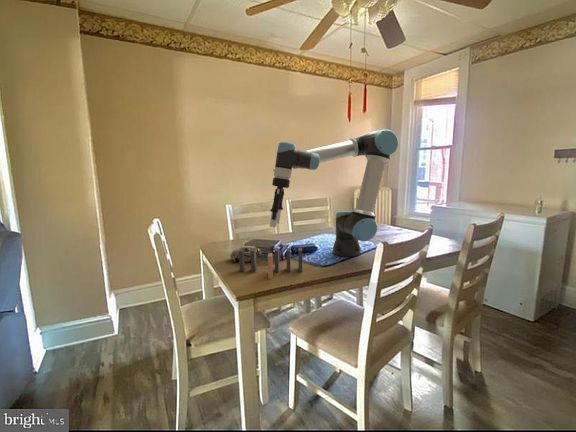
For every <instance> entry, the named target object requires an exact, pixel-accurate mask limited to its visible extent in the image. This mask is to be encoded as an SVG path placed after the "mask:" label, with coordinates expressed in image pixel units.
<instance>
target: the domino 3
mask: <svg viewBox="0 0 576 432" xmlns="http://www.w3.org/2000/svg"><path fill="white" fill-rule="evenodd" d="M273 260H274V258H273V252H268V255H267V274H268V275H267V276H268V280H270V279H271V280H272V279H273V276H274V261H273Z"/></svg>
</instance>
